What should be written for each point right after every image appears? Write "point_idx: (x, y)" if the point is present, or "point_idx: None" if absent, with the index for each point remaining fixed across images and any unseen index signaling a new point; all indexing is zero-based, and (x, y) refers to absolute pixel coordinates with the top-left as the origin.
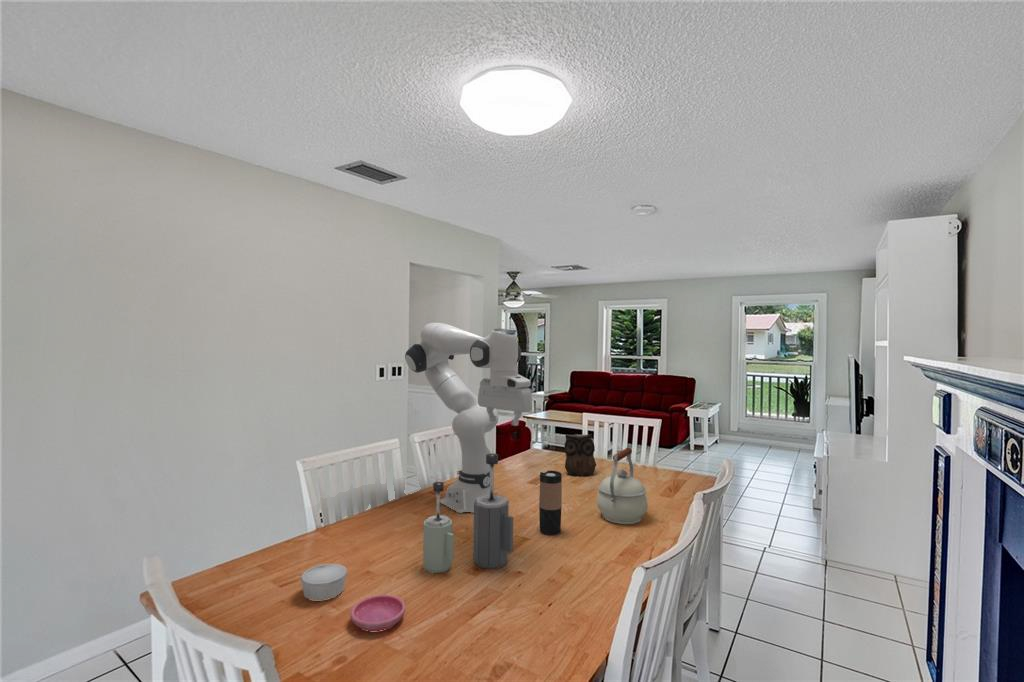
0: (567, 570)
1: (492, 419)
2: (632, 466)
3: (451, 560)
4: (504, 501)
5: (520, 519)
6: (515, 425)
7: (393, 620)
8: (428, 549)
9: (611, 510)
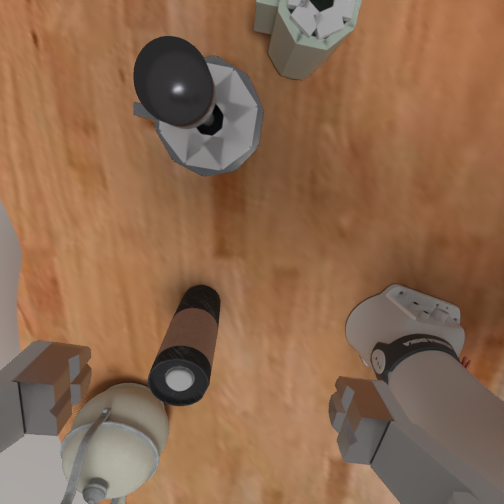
0: (89, 178)
1: (352, 394)
2: None
3: (273, 58)
4: (165, 127)
5: (274, 318)
6: (39, 343)
7: None
8: None
9: (120, 394)
